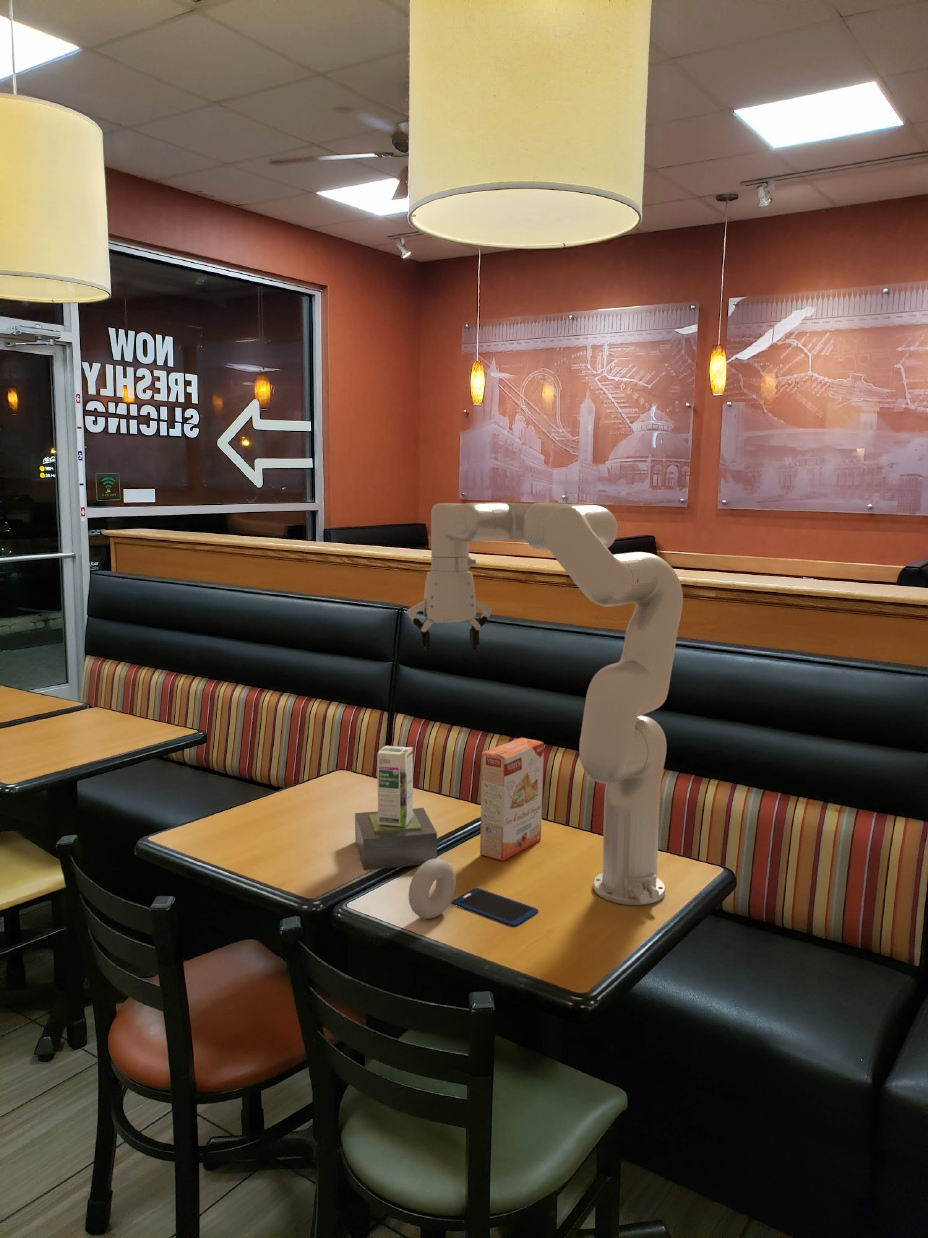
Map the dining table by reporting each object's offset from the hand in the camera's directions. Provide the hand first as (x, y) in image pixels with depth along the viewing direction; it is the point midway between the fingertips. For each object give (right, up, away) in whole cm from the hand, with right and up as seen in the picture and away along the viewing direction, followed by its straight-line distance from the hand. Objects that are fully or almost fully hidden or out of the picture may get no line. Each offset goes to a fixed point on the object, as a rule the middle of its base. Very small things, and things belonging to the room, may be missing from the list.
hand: (449, 649), depth 184 cm
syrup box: (-10, -33, -7) cm, 36 cm away
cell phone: (+8, -44, -29) cm, 53 cm away
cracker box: (+12, -40, -4) cm, 42 cm away
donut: (-2, -44, -32) cm, 54 cm away
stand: (-11, -40, -6) cm, 41 cm away
